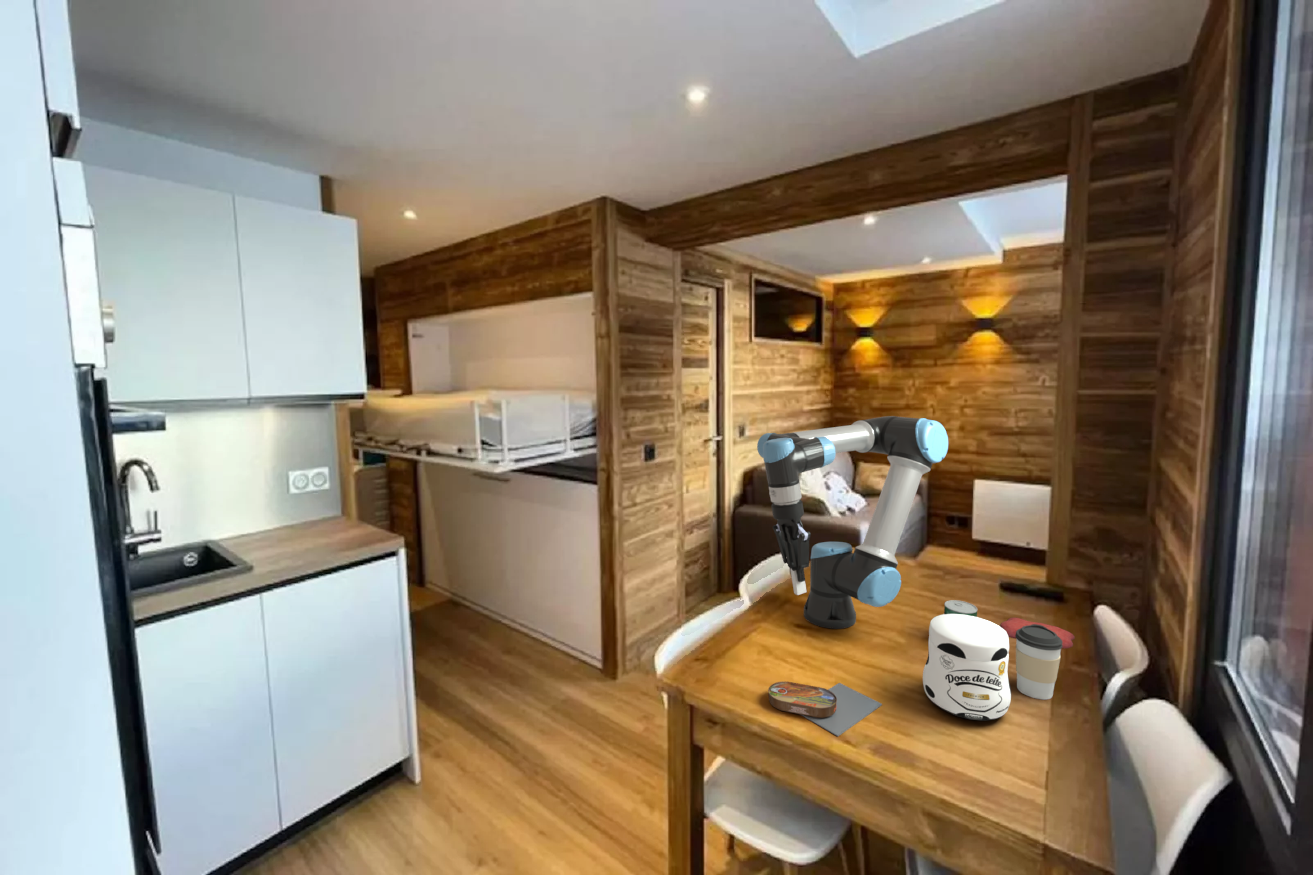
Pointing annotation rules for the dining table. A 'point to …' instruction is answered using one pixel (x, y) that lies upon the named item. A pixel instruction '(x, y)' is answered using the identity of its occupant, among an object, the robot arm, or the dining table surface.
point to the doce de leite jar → (968, 667)
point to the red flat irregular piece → (1018, 623)
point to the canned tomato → (960, 608)
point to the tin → (802, 699)
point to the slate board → (846, 710)
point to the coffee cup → (1037, 660)
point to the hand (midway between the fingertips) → (800, 592)
